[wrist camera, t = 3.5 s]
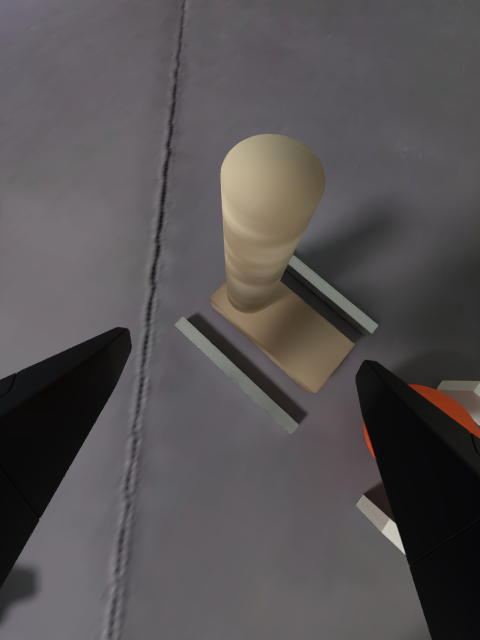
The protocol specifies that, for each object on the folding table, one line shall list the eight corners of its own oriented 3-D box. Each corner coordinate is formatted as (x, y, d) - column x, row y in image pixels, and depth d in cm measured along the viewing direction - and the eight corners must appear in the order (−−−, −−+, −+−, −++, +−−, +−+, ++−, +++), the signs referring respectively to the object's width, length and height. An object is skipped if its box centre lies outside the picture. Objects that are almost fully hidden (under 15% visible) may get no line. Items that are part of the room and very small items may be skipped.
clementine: (323, 441, 21) (369, 473, 14) (351, 364, 22) (405, 358, 15) (415, 485, 20) (510, 541, 13) (437, 404, 22) (532, 416, 15)
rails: (371, 328, 23) (378, 325, 22) (287, 431, 21) (290, 435, 20) (265, 239, 25) (266, 233, 24) (177, 327, 22) (174, 324, 21)
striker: (212, 306, 23) (179, 186, 8) (249, 268, 24) (276, 103, 9) (306, 391, 21) (457, 421, 7) (341, 348, 22) (538, 297, 8)
